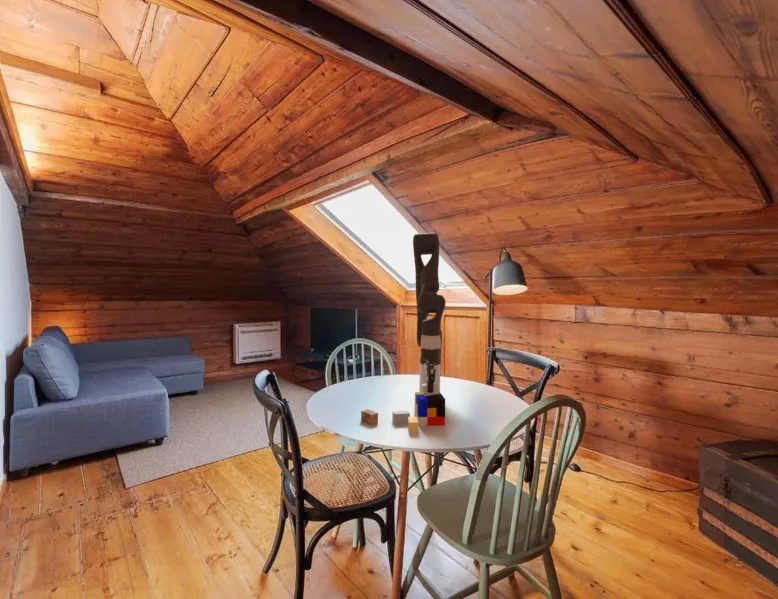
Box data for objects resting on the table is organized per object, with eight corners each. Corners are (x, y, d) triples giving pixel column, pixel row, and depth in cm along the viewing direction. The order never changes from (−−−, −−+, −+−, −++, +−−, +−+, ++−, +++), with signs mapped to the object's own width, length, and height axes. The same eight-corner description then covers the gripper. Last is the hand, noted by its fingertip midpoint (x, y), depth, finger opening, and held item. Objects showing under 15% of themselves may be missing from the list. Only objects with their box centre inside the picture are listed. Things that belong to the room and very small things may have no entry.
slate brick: (394, 424, 148) (394, 414, 148) (392, 421, 151) (392, 411, 151) (409, 423, 149) (409, 413, 149) (407, 420, 152) (407, 410, 152)
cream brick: (424, 396, 150) (422, 386, 150) (423, 394, 153) (421, 384, 153) (440, 393, 150) (438, 383, 150) (438, 391, 153) (436, 381, 153)
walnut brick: (361, 421, 151) (361, 410, 151) (367, 419, 153) (367, 409, 153) (371, 425, 147) (371, 414, 146) (377, 423, 149) (378, 412, 149)
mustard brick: (407, 427, 145) (408, 416, 145) (416, 427, 145) (416, 416, 145) (408, 433, 139) (409, 422, 139) (417, 433, 139) (418, 422, 139)
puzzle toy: (418, 425, 147) (418, 399, 146) (414, 416, 157) (414, 392, 156) (444, 425, 148) (445, 399, 147) (439, 416, 157) (439, 391, 157)
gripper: (419, 343, 158) (418, 386, 159) (422, 349, 144) (421, 396, 145) (437, 344, 158) (437, 386, 159) (443, 349, 144) (442, 396, 145)
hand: (429, 391), depth 152 cm, fingers closed on cream brick, 3 cm apart
